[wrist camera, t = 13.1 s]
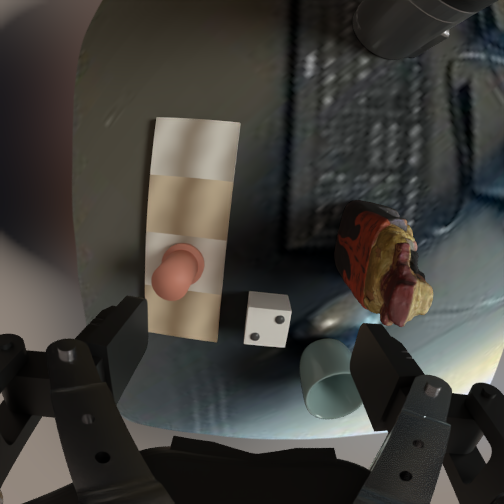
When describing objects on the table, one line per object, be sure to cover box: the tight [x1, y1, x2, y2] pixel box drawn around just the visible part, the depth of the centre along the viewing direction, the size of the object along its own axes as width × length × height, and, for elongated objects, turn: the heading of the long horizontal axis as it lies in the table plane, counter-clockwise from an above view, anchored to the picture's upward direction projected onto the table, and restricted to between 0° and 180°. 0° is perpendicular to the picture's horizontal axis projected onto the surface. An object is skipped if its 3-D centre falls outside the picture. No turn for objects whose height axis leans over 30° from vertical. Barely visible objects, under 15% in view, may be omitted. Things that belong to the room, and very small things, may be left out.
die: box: [244, 291, 292, 348], centre depth 39 cm, size 5×5×5 cm
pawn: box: [151, 243, 204, 301], centre depth 35 cm, size 5×5×7 cm
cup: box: [299, 338, 363, 419], centre depth 39 cm, size 8×8×10 cm
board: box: [145, 117, 240, 342], centre depth 39 cm, size 10×28×1 cm, turn 173°
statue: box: [334, 200, 433, 327], centre depth 29 cm, size 12×8×20 cm, turn 168°
